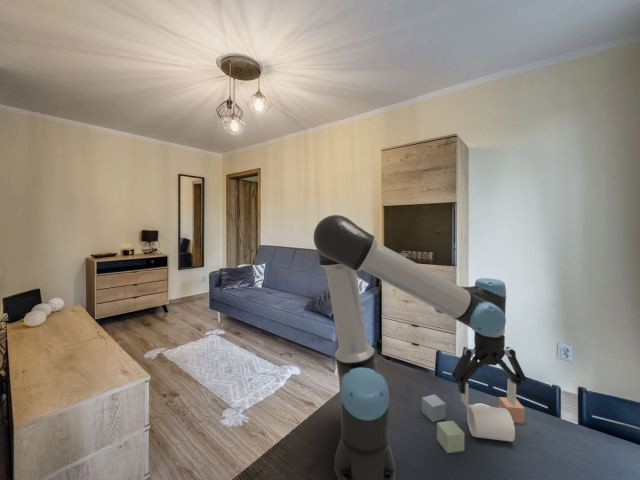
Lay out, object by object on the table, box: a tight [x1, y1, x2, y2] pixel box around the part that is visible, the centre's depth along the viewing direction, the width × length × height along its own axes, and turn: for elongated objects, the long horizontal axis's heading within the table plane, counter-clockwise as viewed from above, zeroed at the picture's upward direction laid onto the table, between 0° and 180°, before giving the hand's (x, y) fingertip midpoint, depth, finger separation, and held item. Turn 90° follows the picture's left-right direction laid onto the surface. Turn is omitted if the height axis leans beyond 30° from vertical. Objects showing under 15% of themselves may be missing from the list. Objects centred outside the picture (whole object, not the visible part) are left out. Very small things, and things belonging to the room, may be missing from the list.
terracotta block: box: [498, 396, 526, 425], centre depth 88 cm, size 5×5×5 cm
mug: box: [466, 402, 516, 442], centre depth 83 cm, size 12×10×8 cm
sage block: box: [436, 420, 466, 454], centre depth 78 cm, size 5×5×5 cm
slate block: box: [421, 394, 447, 423], centre depth 89 cm, size 5×5×5 cm
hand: (487, 403), depth 82 cm, fingers open, 13 cm apart
